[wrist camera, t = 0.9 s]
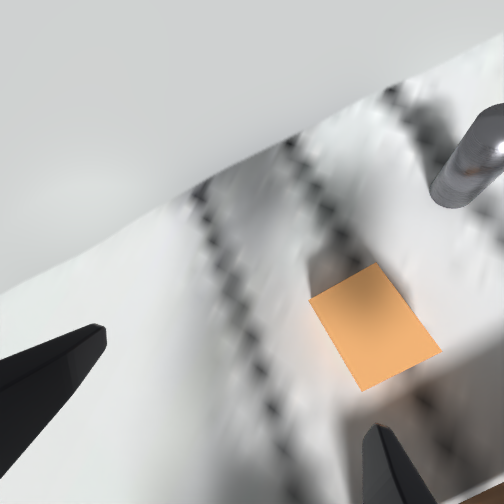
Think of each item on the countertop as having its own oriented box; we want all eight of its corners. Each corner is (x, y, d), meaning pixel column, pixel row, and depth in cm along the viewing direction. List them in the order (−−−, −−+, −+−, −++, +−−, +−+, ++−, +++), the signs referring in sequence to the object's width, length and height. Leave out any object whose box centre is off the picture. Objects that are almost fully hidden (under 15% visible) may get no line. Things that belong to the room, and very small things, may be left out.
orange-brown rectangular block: (420, 347, 18) (442, 351, 15) (356, 379, 19) (362, 391, 15) (368, 274, 21) (375, 262, 17) (312, 305, 21) (308, 300, 17)
